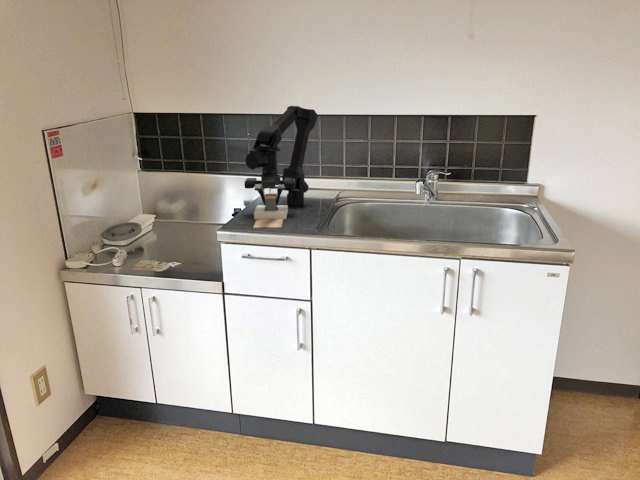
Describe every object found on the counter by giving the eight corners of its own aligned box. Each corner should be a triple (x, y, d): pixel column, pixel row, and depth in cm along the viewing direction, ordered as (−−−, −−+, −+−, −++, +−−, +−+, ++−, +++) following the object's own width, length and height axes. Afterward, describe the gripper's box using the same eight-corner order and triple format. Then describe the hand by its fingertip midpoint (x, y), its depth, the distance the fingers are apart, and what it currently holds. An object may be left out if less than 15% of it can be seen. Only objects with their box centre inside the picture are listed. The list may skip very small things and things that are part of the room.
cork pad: (283, 219, 201) (283, 218, 201) (281, 228, 191) (281, 227, 191) (256, 219, 201) (256, 218, 201) (253, 228, 191) (253, 227, 191)
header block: (287, 211, 211) (287, 203, 210) (286, 218, 202) (286, 210, 200) (257, 211, 211) (256, 203, 210) (254, 219, 202) (253, 210, 201)
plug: (277, 213, 208) (276, 193, 206) (276, 216, 204) (275, 196, 202) (266, 213, 208) (265, 193, 206) (265, 216, 204) (264, 196, 202)
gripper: (241, 169, 192) (243, 211, 197) (293, 169, 192) (294, 210, 197) (245, 163, 203) (247, 203, 208) (295, 162, 203) (295, 202, 208)
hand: (271, 205), depth 205 cm, fingers open, 4 cm apart
